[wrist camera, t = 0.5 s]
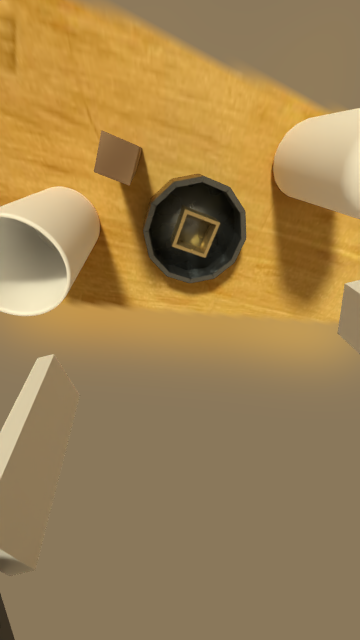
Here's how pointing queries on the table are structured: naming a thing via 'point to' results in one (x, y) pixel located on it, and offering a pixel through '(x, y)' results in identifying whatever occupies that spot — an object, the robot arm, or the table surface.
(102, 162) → the square wooden stick
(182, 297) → the table surface
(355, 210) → the potion bottle
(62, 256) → the cup
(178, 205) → the bowl
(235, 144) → the table surface
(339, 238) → the table surface
